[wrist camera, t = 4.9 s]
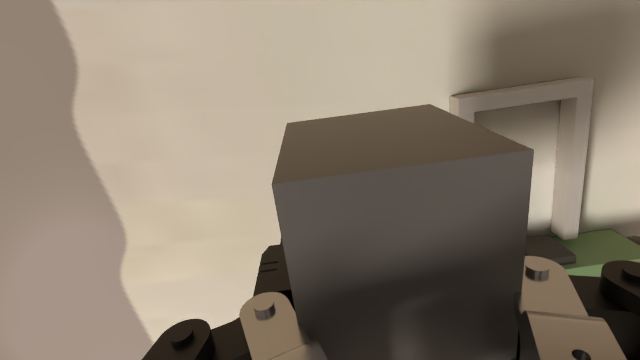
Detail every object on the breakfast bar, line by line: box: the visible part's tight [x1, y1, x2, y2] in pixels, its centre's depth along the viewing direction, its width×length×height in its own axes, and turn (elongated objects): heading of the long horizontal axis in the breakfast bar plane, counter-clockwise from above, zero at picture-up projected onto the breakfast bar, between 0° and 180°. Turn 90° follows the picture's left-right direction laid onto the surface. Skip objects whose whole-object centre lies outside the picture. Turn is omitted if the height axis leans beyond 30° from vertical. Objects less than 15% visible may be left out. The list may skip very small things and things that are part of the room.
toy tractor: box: [450, 77, 640, 277], centre depth 22 cm, size 22×18×11 cm
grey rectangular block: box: [272, 104, 534, 360], centre depth 11 cm, size 9×5×6 cm, turn 7°
